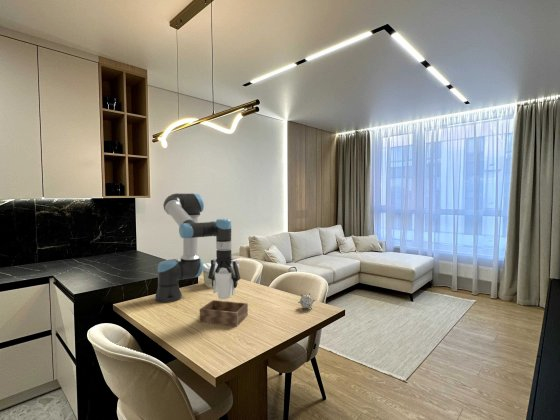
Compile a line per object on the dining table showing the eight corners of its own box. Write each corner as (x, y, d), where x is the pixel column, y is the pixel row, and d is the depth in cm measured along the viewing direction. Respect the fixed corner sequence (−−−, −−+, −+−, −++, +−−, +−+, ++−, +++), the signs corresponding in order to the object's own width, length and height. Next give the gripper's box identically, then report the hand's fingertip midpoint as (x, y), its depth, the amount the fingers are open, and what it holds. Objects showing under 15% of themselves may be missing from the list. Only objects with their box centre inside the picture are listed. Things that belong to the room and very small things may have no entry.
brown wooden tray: (199, 322, 149) (199, 309, 149) (213, 311, 163) (213, 300, 163) (237, 326, 144) (237, 313, 144) (247, 315, 158) (247, 303, 157)
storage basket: (206, 289, 204) (206, 267, 203) (201, 283, 218) (201, 263, 218) (240, 284, 215) (240, 264, 214) (233, 279, 229) (233, 260, 229)
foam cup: (229, 300, 147) (229, 274, 147) (211, 299, 149) (211, 273, 149) (236, 294, 157) (235, 270, 156) (219, 293, 158) (219, 269, 158)
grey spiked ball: (303, 315, 167) (292, 300, 169) (311, 306, 173) (301, 291, 174) (312, 311, 161) (301, 296, 162) (320, 302, 167) (310, 287, 168)
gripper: (200, 249, 151) (201, 293, 152) (241, 251, 146) (241, 297, 146) (207, 247, 159) (208, 289, 159) (246, 249, 153) (247, 292, 154)
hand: (224, 293), depth 153 cm, fingers closed on foam cup, 9 cm apart
